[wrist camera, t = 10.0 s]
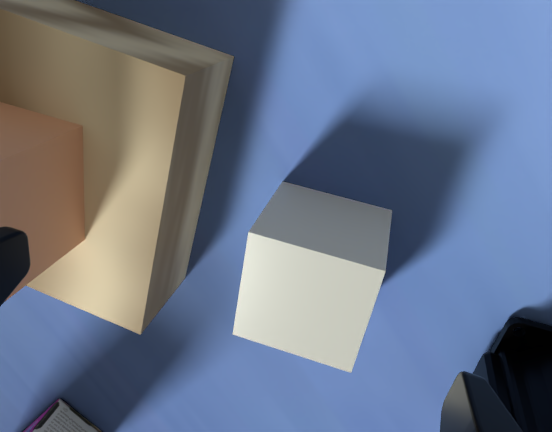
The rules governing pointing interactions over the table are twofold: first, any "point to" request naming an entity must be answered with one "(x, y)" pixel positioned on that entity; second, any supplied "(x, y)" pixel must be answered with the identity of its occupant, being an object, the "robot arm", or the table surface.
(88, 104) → the maple block
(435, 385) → the table surface
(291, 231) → the white cube
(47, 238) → the terracotta cube
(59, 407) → the candy bar box
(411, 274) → the table surface
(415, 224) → the table surface
